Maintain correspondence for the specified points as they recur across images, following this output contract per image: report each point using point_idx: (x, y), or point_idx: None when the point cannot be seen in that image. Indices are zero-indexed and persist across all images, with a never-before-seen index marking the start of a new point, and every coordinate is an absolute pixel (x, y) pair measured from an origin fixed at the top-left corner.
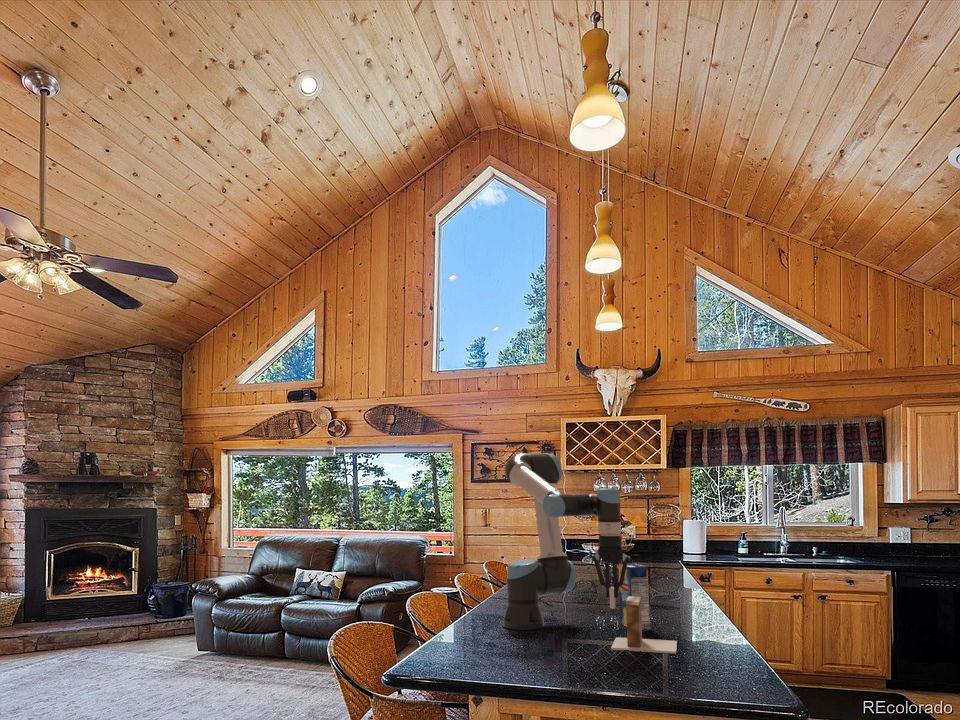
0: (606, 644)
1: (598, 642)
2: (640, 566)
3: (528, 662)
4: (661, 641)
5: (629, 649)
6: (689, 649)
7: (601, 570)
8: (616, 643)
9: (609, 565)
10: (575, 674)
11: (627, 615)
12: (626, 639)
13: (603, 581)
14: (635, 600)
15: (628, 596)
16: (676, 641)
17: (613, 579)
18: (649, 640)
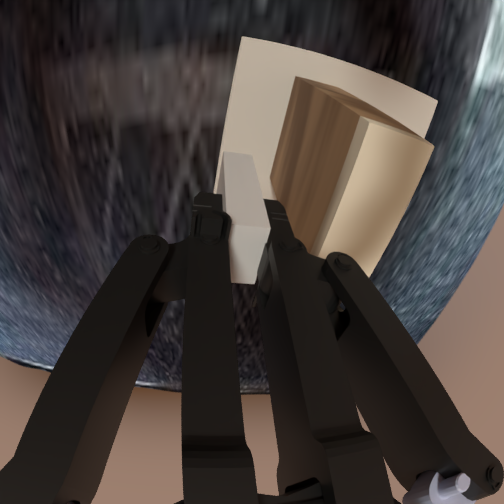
0: (198, 121)
1: (169, 96)
2: None
3: (56, 308)
4: (395, 104)
5: (271, 199)
6: (433, 173)
7: (111, 363)
8: (235, 135)
9: (246, 447)
10: (155, 352)
11: None
12: (281, 70)
13: (162, 308)
14: (362, 262)
15: (367, 133)
16: (434, 109)
17: (263, 341)
18: (362, 88)
